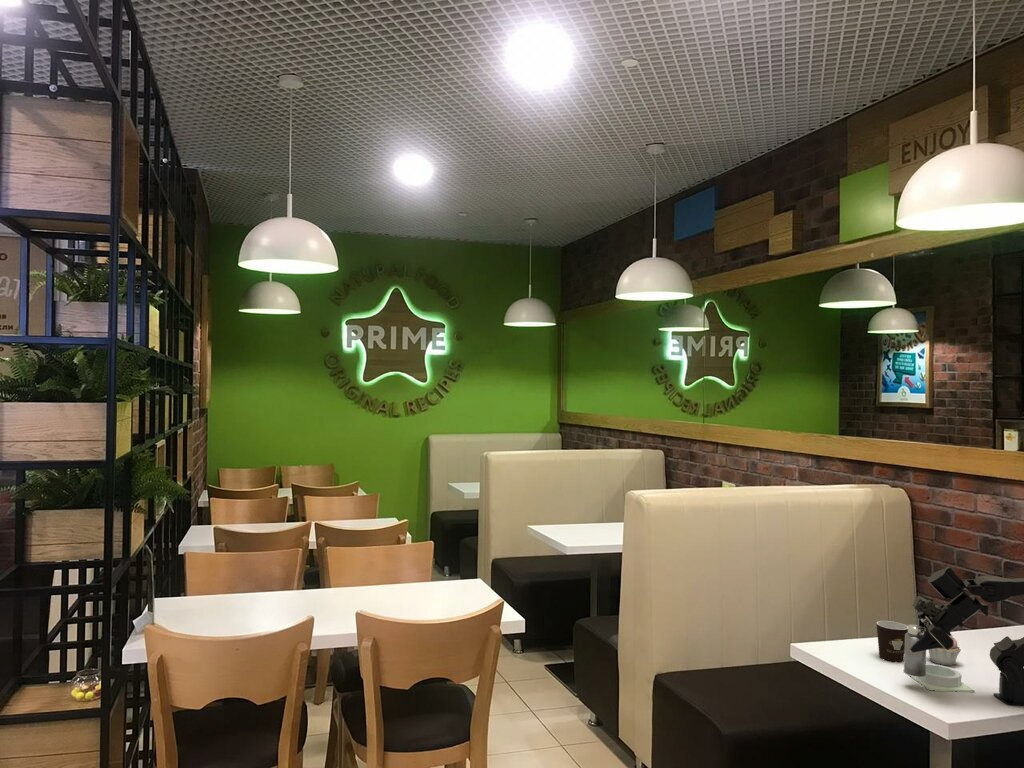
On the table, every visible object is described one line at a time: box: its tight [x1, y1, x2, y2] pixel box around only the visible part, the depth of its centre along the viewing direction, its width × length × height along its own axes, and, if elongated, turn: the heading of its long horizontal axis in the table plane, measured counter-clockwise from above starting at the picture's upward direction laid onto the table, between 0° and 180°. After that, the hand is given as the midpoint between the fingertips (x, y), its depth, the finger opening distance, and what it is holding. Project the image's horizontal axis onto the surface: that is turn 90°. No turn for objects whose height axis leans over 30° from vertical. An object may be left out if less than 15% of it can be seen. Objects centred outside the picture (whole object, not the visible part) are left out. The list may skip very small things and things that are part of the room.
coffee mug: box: [876, 620, 908, 663], centre depth 231 cm, size 12×9×10 cm
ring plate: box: [903, 662, 975, 693], centre depth 214 cm, size 14×12×3 cm
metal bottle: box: [903, 624, 927, 677], centre depth 209 cm, size 5×5×12 cm
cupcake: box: [928, 634, 962, 667], centre depth 230 cm, size 9×9×10 cm
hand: (909, 647), depth 209 cm, fingers closed on metal bottle, 5 cm apart
